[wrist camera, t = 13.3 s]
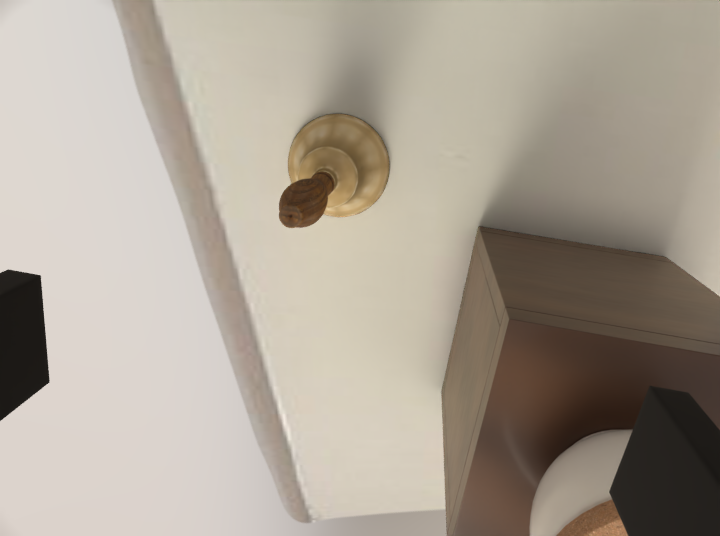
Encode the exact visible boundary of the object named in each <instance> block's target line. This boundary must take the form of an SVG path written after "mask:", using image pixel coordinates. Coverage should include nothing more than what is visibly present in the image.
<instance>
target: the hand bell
mask: <svg viewBox="0 0 720 536" xmlns="http://www.w3.org/2000/svg"><path fill="white" fill-rule="evenodd" d="M288 171H289V176H290V180H291V183H292V184H291V185H290V186H288V187H287V188H286V190H285V191H284V192H283V194H282V196H281V198H280V203H279V211H280V212H279V219H280V221H281V222H282V224H283V225H284V226H286V227H289V228H295V227H300V228H301V227H307V226H310V225H312V224H314V223H315V222H317V221H318V220H319V218H320V217H321V216H322V215H323V214H325V215H329V216H334V217H347V216H352V215H355V214H359V213H361V212H363V211H364V210H366V209H368V208H369V207H370V206H372V205H373V204H374V203H375V202H376V201H377V200H378V199H379V197H380V196H381V194H382V193H383V191H384V189H385V187H386V184H387V181H388V177H389V157H388V153H387V150H386V147H385V145H384V143H383V141H382V139H381V137H380V136H379V135H378V133H377V132H376V131H375V130H374V129H373V128H372V127H371V126H370V125H368V124H367V123H366V122H364V121H362V120H360V119H358V118H356V117H353V116H350V115H346V114H330V115H325V116H322V117H318V118H317V119H315V120H313V121H311V122H309V123H308V124H307V125H306V126H304V127H303V128H302V129H301V131H300V132H299V133H298V134H297V136H296V137H295V139H294V141H293V143H292V145H291V148H290V152H289V158H288Z"/></svg>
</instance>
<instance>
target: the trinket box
mask: <svg viewBox="0 0 720 536" xmlns="http://www.w3.org/2000/svg"><path fill="white" fill-rule="evenodd" d="M632 430H633V429H624V430H606V431H601V432H597V433H594V434H591V435H589V436H586V437H584V438H582V439H581V440H579V441H577V442H576V443H575V444H573V445H572V446H571V447H569V448H568V449H566V450H565V451H564V452H563V453H561V454H560V455H559V456H558V457H557V458H556V459H555V460H554V461H553V463H552V464H551V465H550V466H549V468H548V469H547V471H546V472H545V474H544V475H543V477H542V479H541V480H540V483H539V485H538V488H537V490H536V493H535V496H534V499H533V503H532V509H531V515H530V527H529V528H530V536H628V534H627V532H626V530H625V527H624V525H623V523H622V521H621V518H620V516H619V514H618V511H617V509H616V507H615V505H614V502H613V500H612V498H611V495H610V493H609V491H610V488H611V485H612V483H613V480H614V477H615V475H616V472H617V470H618V467H619V464H620V462H621V459H622V457H623V454H624V451H625V449H626V446H627V443H628V441H629V438H630V436H631V433H632Z"/></svg>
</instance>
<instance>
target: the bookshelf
mask: <svg viewBox="0 0 720 536" xmlns="http://www.w3.org/2000/svg"><path fill="white" fill-rule="evenodd" d="M649 386H655V387H661V388H666V389H672V390H677V391H683V392H688V393H689V394H690V395H691V396H692V397H693V398H694V400H695V401H696V402H697V403H698V404H699V406H700V407H701V408H702V409H703V410H704V412H705V413H706V414H707V415H708V416H709V418H710V419H711V420H712V421H713V422H714V424H715V425H716V426H717V427H718V428H719V430H720V297H719V296H718V295H717V294H715V293H714V292H713V291H711V290H710V289H709V288H707V287H706V286H705V285H703V284H702V283H700V282H699V281H698V280H696V279H695V278H694V277H692V276H691V275H690V274H688V273H687V272H686V271H684V270H683V269H681V268H680V267H679V266H677V265H676V264H675V263H673V262H672V261H671V260H669V259H668V258H666V257H662V256H656V255H650V254H644V253H638V252H632V251H626V250H620V249H614V248H608V247H601V246H595V245H589V244H583V243H577V242H571V241H565V240H559V239H553V238H546V237H540V236H534V235H528V234H522V233H516V232H510V231H504V230H498V229H492V228H485V227H478V230H477V234H476V239H475V243H474V248H473V252H472V257H471V261H470V266H469V270H468V275H467V279H466V284H465V288H464V293H463V297H462V302H461V306H460V311H459V315H458V320H457V324H456V329H455V333H454V338H453V342H452V347H451V351H450V356H449V360H448V365H447V369H446V374H445V378H444V383H443V387H442V419H443V446H444V473H445V500H446V527H447V536H530V528H529V527H530V515H531V509H532V503H533V499H534V496H535V493H536V490H537V488H538V485H539V483H540V480H541V479H542V477H543V475H544V474H545V472H546V471H547V469H548V468H549V466H550V465H551V464H552V463H553V461H554V460H555V459H556V458H557V457H558V456H559V455H560V454H561V453H563V452H564V451H565V450H566V449H568V448H569V447H571V446H572V445H573V444H575V443H576V442H577V441H579V440H581V439H582V438H584V437H586V436H589V435H591V434H594V433H597V432H601V431H606V430H624V429H633V428H634V425H635V423H636V420H637V417H638V415H639V412H640V409H641V407H642V404H643V402H644V399H645V396H646V394H647V391H648V389H649Z"/></svg>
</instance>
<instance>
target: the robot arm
mask: <svg viewBox="0 0 720 536" xmlns="http://www.w3.org/2000/svg"><path fill="white" fill-rule="evenodd" d="M48 383H49V371H48V360H47V348H46V335H45V324H44V311H43V299H42V287H41V276H40V275H35V274H29V273H24V272H19V271H13V270H6V271H4V272H2V273H0V421H1V420H2V419H3V418H4V417H6V416H7V415H8V414H9V413H11V412H12V411H13V410H15V409H16V408H17V407H18V406H20V405H21V404H22V403H24V402H25V401H26V400H27V399H28V398H30V397H31V396H32V395H33V394H35V393H36V392H38V391H39V390H40V389H41V388H42V387H44V386H45V385H46V384H48ZM609 493H610V495H611V498H612V500H613V502H614V505H615V507H616V509H617V511H618V514H619V516H620V518H621V521H622V523H623V525H624V527H625V530H626V532H627V534H628V536H720V430H719V428H718V427H717V426H716V425H715V424H714V422H713V421H712V420H711V419H710V418H709V416H708V415H707V414H706V413H705V412H704V410H703V409H702V408H701V407H700V406H699V404H698V403H697V402H696V401H695V400H694V398H693V397H692V396H691V395H690V394H689V393H688V392H683V391H677V390H672V389H666V388H661V387H655V386H649V389H648V391H647V394H646V396H645V399H644V402H643V404H642V407H641V409H640V412H639V415H638V417H637V420H636V423H635V425H634V428H633V430H632V433H631V436H630V438H629V441H628V443H627V446H626V449H625V451H624V454H623V457H622V459H621V462H620V464H619V467H618V470H617V472H616V475H615V477H614V480H613V483H612V485H611V488H610V491H609Z"/></svg>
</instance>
